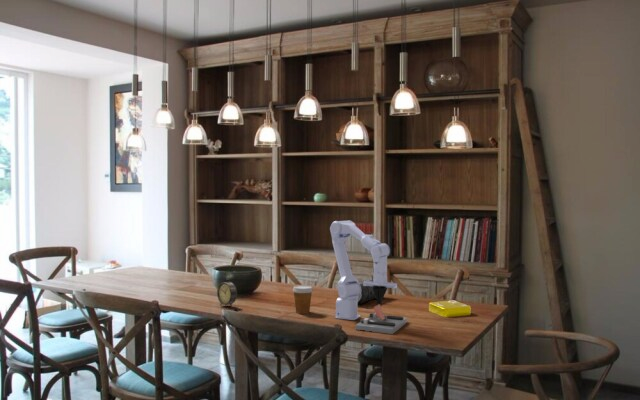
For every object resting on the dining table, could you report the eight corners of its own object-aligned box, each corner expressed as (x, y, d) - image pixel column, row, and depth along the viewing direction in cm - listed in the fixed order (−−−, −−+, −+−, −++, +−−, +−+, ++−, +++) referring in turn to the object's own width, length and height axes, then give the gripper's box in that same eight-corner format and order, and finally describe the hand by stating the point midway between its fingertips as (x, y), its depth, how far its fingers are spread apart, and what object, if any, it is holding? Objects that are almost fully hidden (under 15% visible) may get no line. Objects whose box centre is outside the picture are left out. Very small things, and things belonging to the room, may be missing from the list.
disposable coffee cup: (289, 311, 274) (289, 285, 274) (308, 309, 278) (308, 284, 278) (296, 315, 266) (296, 289, 265) (315, 313, 269) (316, 287, 269)
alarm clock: (216, 305, 286) (216, 272, 285) (225, 303, 290) (225, 271, 289) (230, 308, 278) (230, 275, 278) (239, 307, 282) (239, 274, 282)
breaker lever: (379, 321, 244) (373, 307, 245) (383, 319, 249) (377, 305, 250) (381, 320, 244) (375, 306, 245) (385, 318, 248) (379, 304, 249)
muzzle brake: (387, 298, 307) (387, 278, 307) (361, 307, 284) (362, 286, 283) (371, 296, 312) (371, 276, 312) (345, 305, 289) (345, 284, 288)
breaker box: (355, 329, 240) (355, 320, 240) (372, 318, 260) (372, 309, 260) (392, 334, 233) (392, 324, 233) (407, 322, 253) (407, 313, 253)
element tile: (427, 311, 277) (427, 301, 277) (453, 308, 282) (454, 299, 282) (444, 318, 263) (444, 307, 263) (472, 315, 268) (472, 305, 268)
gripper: (360, 272, 245) (360, 304, 246) (393, 274, 240) (393, 307, 240) (366, 270, 252) (366, 300, 252) (398, 272, 246) (398, 304, 246)
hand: (379, 303), depth 247 cm, fingers closed
